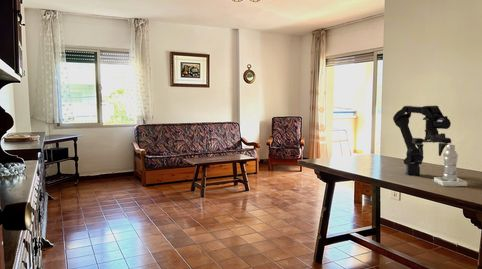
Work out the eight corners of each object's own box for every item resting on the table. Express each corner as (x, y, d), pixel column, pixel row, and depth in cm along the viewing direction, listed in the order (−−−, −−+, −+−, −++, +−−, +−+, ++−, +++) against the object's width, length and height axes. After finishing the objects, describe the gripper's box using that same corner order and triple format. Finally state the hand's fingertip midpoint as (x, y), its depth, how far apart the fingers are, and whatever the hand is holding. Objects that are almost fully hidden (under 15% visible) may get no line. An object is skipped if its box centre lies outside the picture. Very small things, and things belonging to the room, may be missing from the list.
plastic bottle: (447, 180, 188) (448, 144, 186) (459, 183, 181) (461, 145, 180) (439, 182, 185) (440, 144, 183) (451, 184, 179) (452, 146, 177)
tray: (442, 186, 179) (442, 181, 178) (433, 181, 189) (434, 177, 189) (466, 186, 177) (467, 181, 177) (456, 181, 188) (456, 177, 187)
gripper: (419, 129, 186) (418, 158, 188) (456, 128, 184) (455, 158, 185) (411, 128, 197) (411, 155, 199) (446, 127, 195) (446, 155, 196)
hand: (431, 156), depth 194 cm, fingers open, 9 cm apart
